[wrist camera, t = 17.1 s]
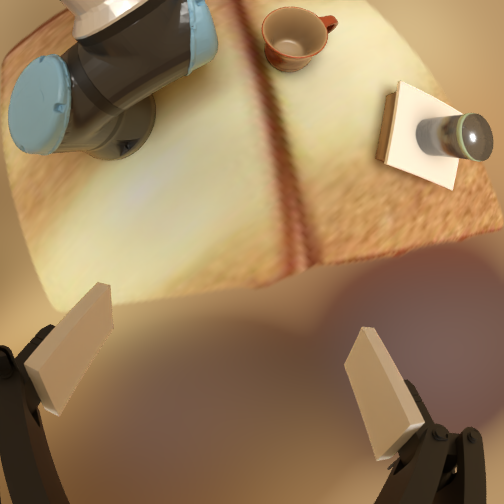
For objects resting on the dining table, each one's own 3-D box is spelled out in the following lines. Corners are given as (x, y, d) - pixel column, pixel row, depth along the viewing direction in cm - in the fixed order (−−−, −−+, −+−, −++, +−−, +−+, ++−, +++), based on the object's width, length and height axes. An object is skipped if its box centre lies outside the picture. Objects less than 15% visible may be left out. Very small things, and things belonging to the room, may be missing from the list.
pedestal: (369, 162, 43) (386, 164, 36) (382, 88, 38) (400, 80, 32) (431, 184, 44) (452, 190, 37) (442, 117, 39) (464, 115, 33)
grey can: (412, 148, 35) (460, 150, 24) (418, 112, 33) (465, 104, 22) (441, 161, 36) (490, 168, 24) (446, 126, 34) (495, 125, 22)
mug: (279, 86, 39) (285, 68, 30) (250, 47, 37) (248, 21, 27) (338, 58, 37) (358, 37, 27) (309, 21, 35) (322, -7, 25)
